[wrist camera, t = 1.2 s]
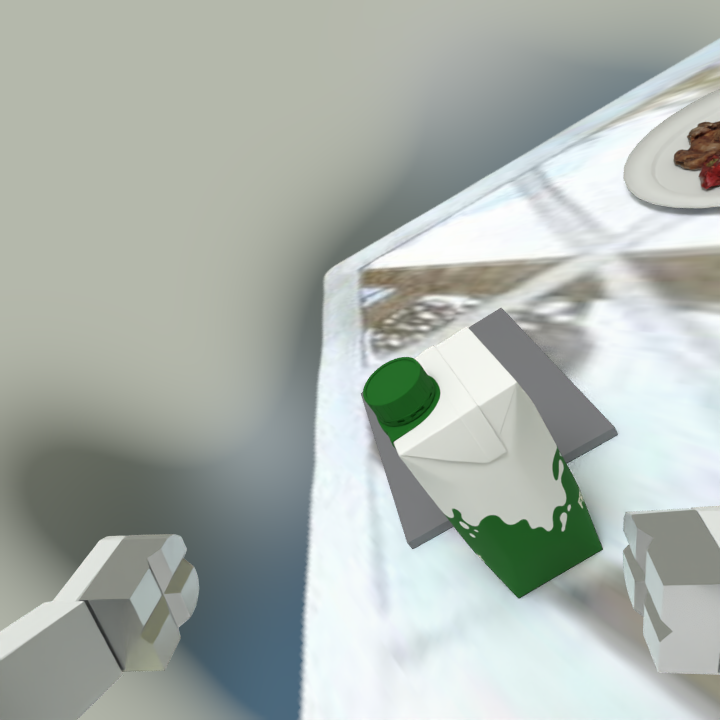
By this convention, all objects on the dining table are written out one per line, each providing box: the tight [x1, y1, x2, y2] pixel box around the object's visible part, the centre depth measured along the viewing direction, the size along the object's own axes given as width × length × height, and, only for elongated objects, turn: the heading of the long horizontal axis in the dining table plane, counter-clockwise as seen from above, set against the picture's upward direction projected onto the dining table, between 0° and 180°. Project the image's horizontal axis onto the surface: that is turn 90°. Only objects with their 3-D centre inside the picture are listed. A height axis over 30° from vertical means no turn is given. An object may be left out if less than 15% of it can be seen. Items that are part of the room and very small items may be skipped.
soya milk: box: [363, 326, 603, 598], centre depth 38 cm, size 9×9×20 cm
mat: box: [361, 308, 618, 549], centre depth 57 cm, size 20×24×1 cm
